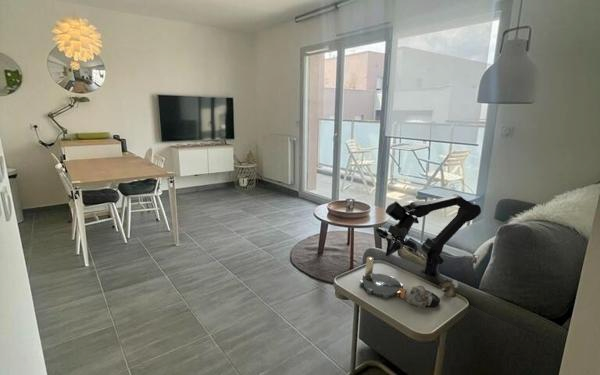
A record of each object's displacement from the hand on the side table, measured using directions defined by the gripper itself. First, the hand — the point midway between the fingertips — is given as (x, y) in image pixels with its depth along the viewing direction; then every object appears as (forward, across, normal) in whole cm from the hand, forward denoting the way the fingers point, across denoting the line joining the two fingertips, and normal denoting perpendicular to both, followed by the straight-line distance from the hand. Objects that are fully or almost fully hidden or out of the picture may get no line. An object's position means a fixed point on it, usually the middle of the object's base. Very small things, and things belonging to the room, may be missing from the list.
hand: (386, 256), depth 142 cm
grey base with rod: (+13, +5, -1) cm, 14 cm away
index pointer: (+12, +14, -1) cm, 19 cm away
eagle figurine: (0, +25, +13) cm, 28 cm away
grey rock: (+10, +21, +1) cm, 24 cm away
